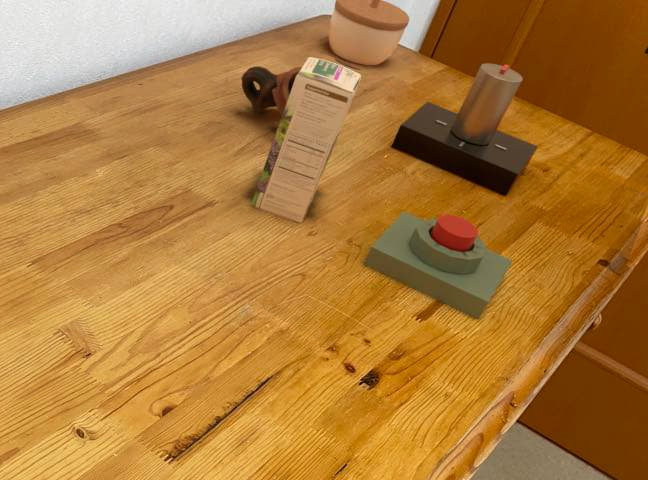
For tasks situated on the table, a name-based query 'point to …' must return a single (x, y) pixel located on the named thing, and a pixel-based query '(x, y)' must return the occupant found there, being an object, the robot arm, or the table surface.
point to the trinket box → (366, 30)
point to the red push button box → (438, 265)
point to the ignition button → (454, 233)
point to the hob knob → (486, 103)
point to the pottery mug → (268, 88)
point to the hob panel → (463, 149)
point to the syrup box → (305, 138)
